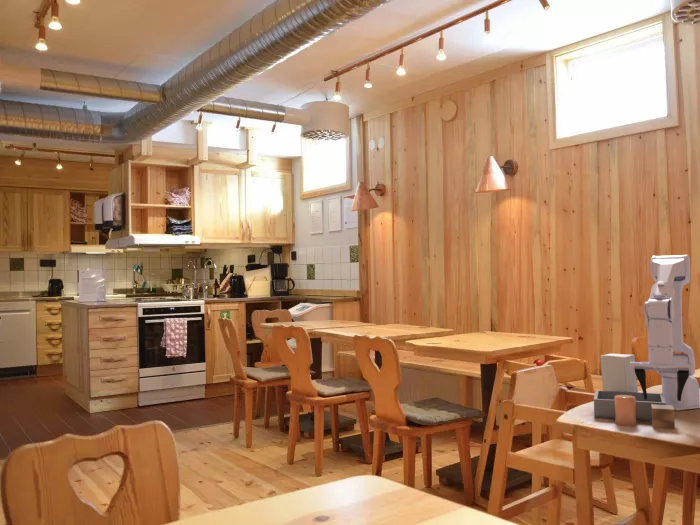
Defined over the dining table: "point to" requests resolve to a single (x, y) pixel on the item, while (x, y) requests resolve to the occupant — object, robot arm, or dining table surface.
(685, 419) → the dining table surface
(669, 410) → the walnut block
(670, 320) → the robot arm
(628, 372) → the skincare box
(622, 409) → the terracotta cylinder
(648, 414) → the tote
